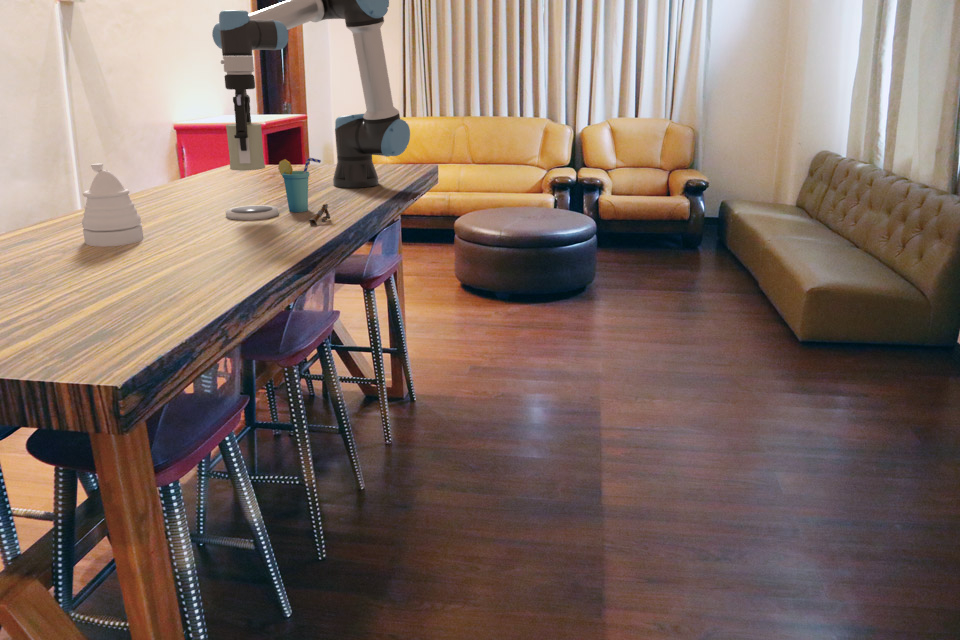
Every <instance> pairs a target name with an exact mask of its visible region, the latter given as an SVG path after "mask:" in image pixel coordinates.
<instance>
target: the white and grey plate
mask: <svg viewBox="0 0 960 640" xmlns="http://www.w3.org/2000/svg"><path fill="white" fill-rule="evenodd" d="M279 214H280V213H279V207H277V206H274V205H266V204H265V205H263V204H262V205H261V204H257V205H255V204H253V205H241V206H235V207H234V206H233V207H230V208H228V209H225V218H226V219H228V220H234V221H236V220H237V221H256V220H257V221H258V220H266V219H270V218H275V217H278V215H279Z"/></svg>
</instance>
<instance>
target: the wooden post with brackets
mask: <svg viewBox="0 0 960 640" xmlns="http://www.w3.org/2000/svg"><path fill="white" fill-rule="evenodd" d="M328 208H329V204H328V203H324V204H323V205H322V206H321V209H320V210H318V211H317V213H316V214H315V216H313V217H312V218H308V222H309V224H310V225H311V226H317V225H318V224H317V222H318V220H319V219H320V218H321V217H322V218H321V223H324V222H326V221H327V220H330V219H331V215H330V213H329V210H328ZM324 214H325V216H323V215H324Z"/></svg>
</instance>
